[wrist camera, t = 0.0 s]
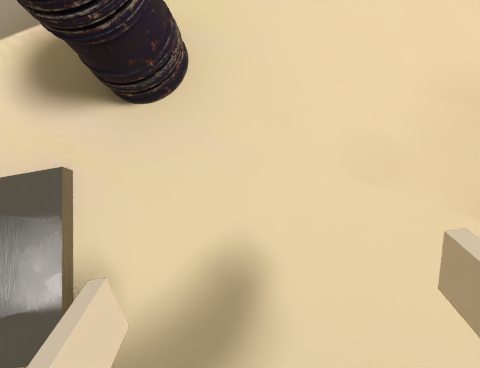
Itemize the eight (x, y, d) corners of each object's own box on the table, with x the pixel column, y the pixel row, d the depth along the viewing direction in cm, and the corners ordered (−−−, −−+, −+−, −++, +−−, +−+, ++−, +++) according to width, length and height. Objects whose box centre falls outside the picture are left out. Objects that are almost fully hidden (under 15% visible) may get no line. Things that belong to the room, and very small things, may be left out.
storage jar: (89, 83, 33) (-58, -46, 18) (135, 15, 34) (32, -156, 20) (159, 119, 31) (57, 5, 16) (205, 45, 32) (148, -121, 18)
